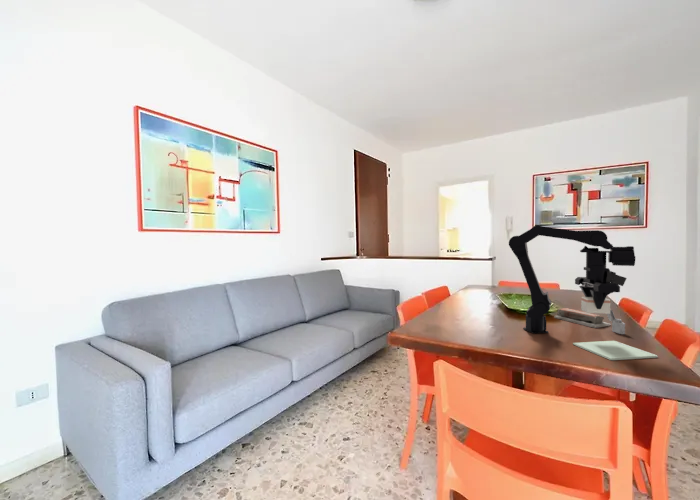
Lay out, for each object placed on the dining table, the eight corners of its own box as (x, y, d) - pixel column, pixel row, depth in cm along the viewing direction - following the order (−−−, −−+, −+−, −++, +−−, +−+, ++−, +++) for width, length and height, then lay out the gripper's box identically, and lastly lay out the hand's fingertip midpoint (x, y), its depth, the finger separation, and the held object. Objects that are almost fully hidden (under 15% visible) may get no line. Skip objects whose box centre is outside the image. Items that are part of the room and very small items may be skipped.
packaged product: (553, 308, 143) (568, 306, 146) (553, 318, 143) (568, 316, 146) (595, 317, 126) (611, 315, 129) (595, 329, 126) (611, 326, 129)
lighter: (625, 334, 118) (625, 313, 118) (620, 334, 118) (621, 313, 118) (609, 328, 125) (609, 309, 125) (605, 328, 125) (605, 309, 125)
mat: (611, 360, 94) (611, 358, 94) (573, 344, 108) (573, 342, 108) (657, 357, 95) (657, 355, 95) (614, 342, 109) (614, 340, 109)
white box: (587, 312, 111) (587, 299, 111) (581, 309, 115) (581, 296, 115) (610, 313, 109) (610, 299, 109) (603, 310, 113) (603, 297, 113)
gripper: (639, 267, 100) (638, 315, 101) (608, 262, 118) (607, 303, 119) (599, 267, 103) (598, 313, 104) (574, 262, 121) (574, 302, 122)
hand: (595, 307), depth 112 cm, fingers closed on white box, 4 cm apart
